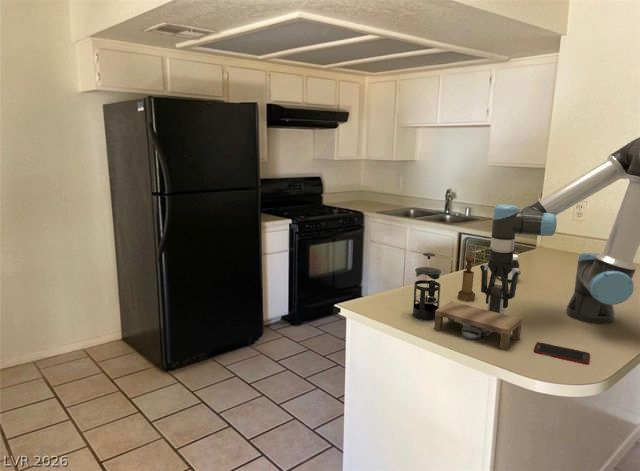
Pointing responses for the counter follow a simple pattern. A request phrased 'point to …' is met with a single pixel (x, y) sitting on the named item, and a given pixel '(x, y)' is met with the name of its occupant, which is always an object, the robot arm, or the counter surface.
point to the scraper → (491, 307)
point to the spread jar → (515, 266)
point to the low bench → (480, 320)
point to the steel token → (471, 333)
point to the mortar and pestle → (467, 282)
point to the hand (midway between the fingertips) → (495, 314)
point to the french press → (426, 302)
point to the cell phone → (562, 353)
